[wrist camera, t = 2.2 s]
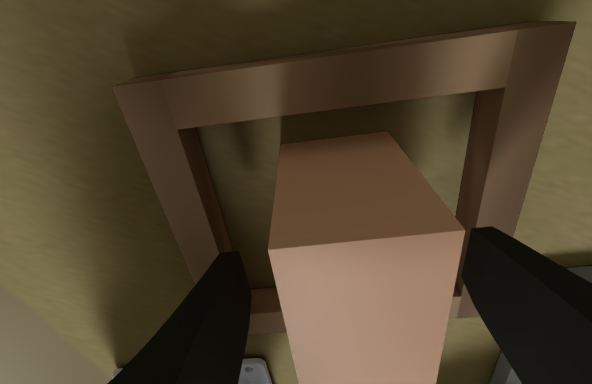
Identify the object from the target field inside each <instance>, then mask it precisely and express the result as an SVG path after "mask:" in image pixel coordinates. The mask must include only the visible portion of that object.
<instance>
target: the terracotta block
mask: <svg viewBox="0 0 592 384" xmlns="http://www.w3.org/2000/svg"><path fill="white" fill-rule="evenodd" d="M464 235H465V229H464V228H463V226H462V225H461V224H460V223H459V221H458V220H457V219H456V218H455V216H454V215H453V214H452V213H451V211H450V210H449V209H448V207H447V206H446V205H445V204H444V202H443V201H442V200H441V199H440V197H439V196H438V195H437V193H436V192H435V191H434V190H433V188H432V187H431V186H430V185H429V183H428V182H427V181H426V180H425V178H424V177H423V176H422V174H421V173H420V172H419V171H418V169H417V168H416V167H415V166H414V164H413V163H412V162H411V161H410V159H409V158H408V157H407V155H406V154H405V153H404V152H403V150H402V149H401V148H400V147H399V145H398V144H397V143H396V141H395V140H394V139H393V138H392V136H391V135H390V134H389V133H388V131H386V132H378V133H370V134H361V135H353V136H345V137H337V138H329V139H321V140H312V141H304V142H296V143H288V144H280V153H279V161H278V170H277V178H276V186H275V195H274V203H273V211H272V220H271V228H270V237H269V245H268V253H269V257H270V261H271V266H272V270H273V274H274V279H275V283H276V287H277V292H278V296H279V300H280V305H281V309H282V313H283V318H284V322H285V326H286V331H287V335H288V339H289V344H290V348H291V352H292V357H293V361H294V365H295V370H296V374H297V378H298V383H299V384H436V381H437V376H438V370H439V365H440V360H441V355H442V349H443V344H444V339H445V334H446V329H447V323H448V318H449V313H450V308H451V303H452V297H453V292H454V287H455V282H456V277H457V271H458V266H459V261H460V256H461V250H462V245H463V240H464Z"/></svg>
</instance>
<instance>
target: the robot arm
mask: <svg viewBox="0 0 592 384" xmlns="http://www.w3.org/2000/svg"><path fill="white" fill-rule="evenodd" d="M461 277H462V280H463V282H464V284H465V287H466V289H467V291H468V293H469V296H470V298H471V300H472V302H473V304H474V306H475V308H476V310H477V311H478V313H479V315H480V317H481V318H482V320H483V321H484V323H485V325H486V326H487V328H488V330H489V331H490V333H491V335H492V336H493V338H494V339H495V341H496V343H497V344H498V346H499V348H500V349H501V351H502V352H503V354H504V356H505V357H506V359H507V360H508V362H509V364H510V365H511V367H512V369H513V370H514V372H515V373H516V375H517V377H518V378H519V380H520V381H521V383H522V384H592V283H591V282H589V281H587V280H585V279H584V278H582V277H580V276H578V275H576V274H575V273H573V272H571V271H569V270H567V269H566V268H564V267H562V266H561V265H559V264H557V263H555V262H554V261H552V260H550V259H548V258H547V257H545V256H543V255H542V254H540V253H538V252H536V251H535V250H533V249H531V248H530V247H528V246H526V245H525V244H523V243H521V242H519V241H518V240H516V239H514V238H513V237H511V236H509V235H507V234H506V233H504V232H502V231H500V230H498V229H497V228H495V227H493V226H489V227H478V228H471V231H470V236H469V241H468V246H467V251H466V256H465V260H464V265H463V270H462V275H461ZM251 297H252V294H251V291H250V288H249V284H248V281H247V277H246V274H245V271H244V267H243V264H242V261H241V257H240V254H239V251H233V252H223V253H219V255H218V256H217V257H216V258H215V260H214V261H213V262H212V264H211V265H210V266H209V268H208V269H207V270H206V272H205V273H204V274H203V276H202V277H201V278H200V280H199V281H198V282H197V284H196V285H195V286H194V288H193V289H192V290H191V291H190V293H189V294H188V295H187V297H186V298H185V299H184V300H183V302H182V303H181V304H180V305H179V307H178V308H177V309H176V310H175V312H174V313H173V314H172V315H171V316H170V318H169V319H168V320H167V321H166V322H165V323H164V325H163V326H162V327H161V328H160V329H159V330H158V331H157V333H156V334H155V335H154V336H153V337H152V338H151V340H150V341H149V342H148V343H147V344H146V345H145V346H144V347H143V348H142V349H141V350H140V351H139V353H138V354H137V355H136V356H135V357H134V358H133V359H132V360H131V361H130V362H129V363H128V364H127V365H126V366H125V367H124V368H119V369H116V370H115V371H114V373H113V375H112V380H111V381H110V382H109V383H108V384H272V381H271V378H270V375H269V372H268V369H267V365H266V362H265V361H264V360H263V359H260V358H250V359H243V357H244V352H245V346H246V341H247V336H248V330H249V324H250V312H251Z"/></svg>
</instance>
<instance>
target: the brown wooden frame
mask: <svg viewBox="0 0 592 384" xmlns="http://www.w3.org/2000/svg"><path fill="white" fill-rule="evenodd" d="M575 25H576V22H568V21H533V22H526V23H519V24H511V25H504V26H497V27H490V28H483V29H476V30H469V31H462V32H455V33H448V34H441V35H434V36H427V37H420V38H413V39H406V40H399V41H391V42H384V43H377V44H370V45H363V46H356V47H349V48H342V49H335V50H328V51H321V52H314V53H307V54H300V55H293V56H286V57H279V58H271V59H264V60H257V61H250V62H243V63H236V64H229V65H222V66H215V67H208V68H201V69H194V70H187V71H180V72H173V73H166V74H159V75H151V76H144V77H137V78H133V79H131V80H128V81H125V82H123V83H120V84H118V85H115V86H112V87H111V88H112V90H113V93H114V95H115V97H116V100H117V102H118V104H119V107H120V109H121V111H122V114H123V116H124V119H125V121H126V123H127V126H128V128H129V130H130V133H131V135H132V138H133V140H134V142H135V145H136V147H137V149H138V152H139V154H140V156H141V159H142V161H143V164H144V166H145V168H146V171H147V173H148V175H149V178H150V180H151V182H152V185H153V187H154V190H155V192H156V194H157V197H158V199H159V201H160V204H161V206H162V209H163V211H164V213H165V216H166V218H167V220H168V223H169V225H170V227H171V230H172V232H173V235H174V237H175V239H176V242H177V244H178V246H179V249H180V251H181V253H182V256H183V258H184V261H185V263H186V265H187V268H188V270H189V272H190V275H191V277H192V280H193V282H194V284H195V285H196V284H197V282H198V281H199V280H200V278H201V277H202V276H203V274H204V273H205V272H206V270H207V269H208V268H209V266H210V265H211V264H212V262H213V261H214V260H215V258H216V257H217V256H218V255H219V253H223V252H233V250H232V247H231V243H230V240H229V237H228V234H227V230H226V227H225V224H224V221H223V217H222V214H221V211H220V208H219V204H218V201H217V198H216V195H215V191H214V188H213V185H212V182H211V178H210V175H209V172H208V169H207V165H206V162H205V159H204V156H203V152H202V149H201V146H200V143H199V139H198V136H197V133H196V130H195V127H201V126H209V125H217V124H225V123H232V122H240V121H248V120H256V119H263V118H271V117H279V116H287V115H295V114H302V113H310V112H318V111H326V110H333V109H341V108H349V107H357V106H364V105H372V104H380V103H388V102H396V101H403V100H411V99H419V98H427V97H434V96H442V95H450V94H458V93H466V92H473V91H477V93H476V99H475V105H474V111H473V117H472V123H471V129H470V135H469V141H468V147H467V153H466V159H465V165H464V171H463V177H462V183H461V189H460V195H459V201H458V207H457V213H456V219H457V220H458V221H459V223H460V224H461V225H462V226H463V228H464V229H465V235H464V240H463V245H462V250H461V256H460V261H459V266H458V271H457V277H456V282H455V287H454V292H453V297H452V303H451V308H450V313H449V318H448V319H454V318H466V317H479V316H480V315H479V313H478V311H477V310H476V308H475V306H474V304H473V302H472V300H471V298H470V296H469V293H468V291H467V289H466V287H465V284H464V282H463V280H462V277H461V275H462V270H463V265H464V260H465V256H466V251H467V246H468V241H469V236H470V231H471V228H478V227H489V226H493V227H495V228H497V229H498V230H500V231H502V232H504V233H506V234H507V235H509V236H511V237H513V235H514V232H515V228H516V225H517V221H518V218H519V215H520V211H521V208H522V205H523V201H524V198H525V194H526V191H527V188H528V184H529V181H530V177H531V174H532V171H533V167H534V164H535V161H536V157H537V154H538V150H539V147H540V144H541V140H542V137H543V134H544V130H545V127H546V123H547V120H548V117H549V113H550V110H551V106H552V103H553V100H554V96H555V93H556V90H557V86H558V83H559V79H560V76H561V73H562V69H563V66H564V62H565V59H566V56H567V52H568V49H569V46H570V42H571V39H572V35H573V32H574V29H575ZM250 291H251V294H252V297H251V312H250V324H249V330H248V335H256V334H269V333H281V332H287V331H286V326H285V322H284V318H283V313H282V309H281V305H280V300H279V296H278V292H277V287H272V288H261V289H250Z"/></svg>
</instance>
